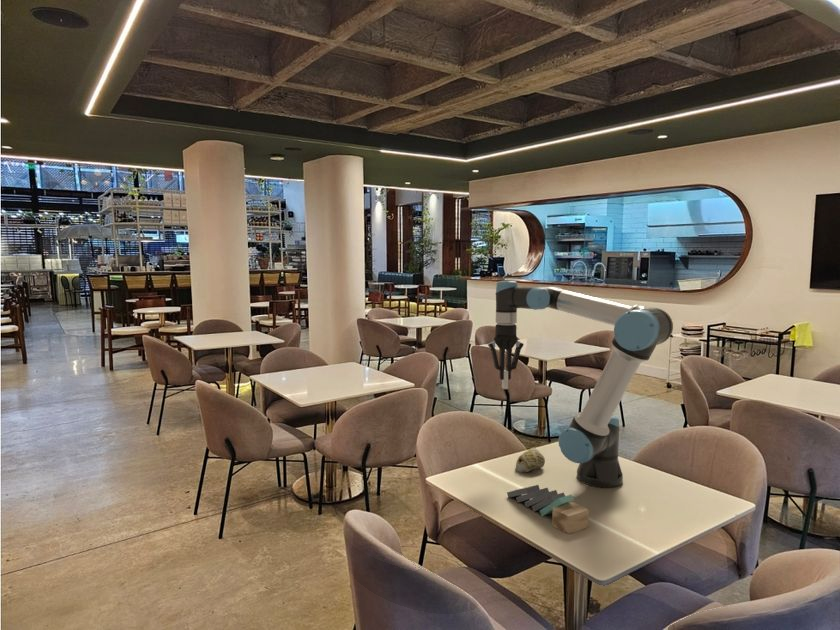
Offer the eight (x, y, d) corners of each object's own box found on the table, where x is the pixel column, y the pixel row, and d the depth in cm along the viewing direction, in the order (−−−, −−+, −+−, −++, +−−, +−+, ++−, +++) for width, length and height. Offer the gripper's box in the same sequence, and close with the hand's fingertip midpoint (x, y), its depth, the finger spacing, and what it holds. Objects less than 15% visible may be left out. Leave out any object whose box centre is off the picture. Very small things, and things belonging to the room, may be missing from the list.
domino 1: (506, 492, 171) (526, 488, 163) (518, 489, 173) (538, 484, 165) (508, 497, 170) (527, 493, 162) (520, 494, 173) (539, 490, 165)
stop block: (552, 525, 152) (552, 508, 151) (572, 518, 156) (572, 501, 156) (568, 533, 147) (568, 516, 146) (588, 526, 151) (588, 509, 150)
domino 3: (524, 502, 164) (543, 493, 156) (536, 498, 166) (556, 489, 159) (526, 507, 163) (545, 498, 156) (538, 503, 166) (558, 495, 158)
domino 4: (531, 506, 161) (551, 496, 154) (543, 502, 163) (563, 492, 156) (533, 511, 160) (553, 501, 153) (546, 507, 163) (565, 497, 156)
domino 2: (515, 497, 167) (535, 490, 159) (527, 494, 170) (547, 487, 162) (517, 502, 166) (537, 496, 159) (529, 499, 169) (549, 492, 161)
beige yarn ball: (512, 471, 191) (514, 442, 195) (518, 474, 199) (519, 447, 203) (541, 473, 187) (543, 444, 191) (545, 477, 195) (547, 449, 199)
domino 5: (539, 510, 158) (558, 498, 151) (551, 506, 161) (571, 494, 154) (542, 516, 157) (561, 503, 150) (554, 512, 160) (573, 499, 153)
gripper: (520, 322, 197) (519, 385, 199) (485, 323, 195) (485, 386, 197) (526, 324, 189) (525, 390, 191) (490, 325, 188) (489, 391, 190)
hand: (504, 388), depth 194 cm, fingers closed
